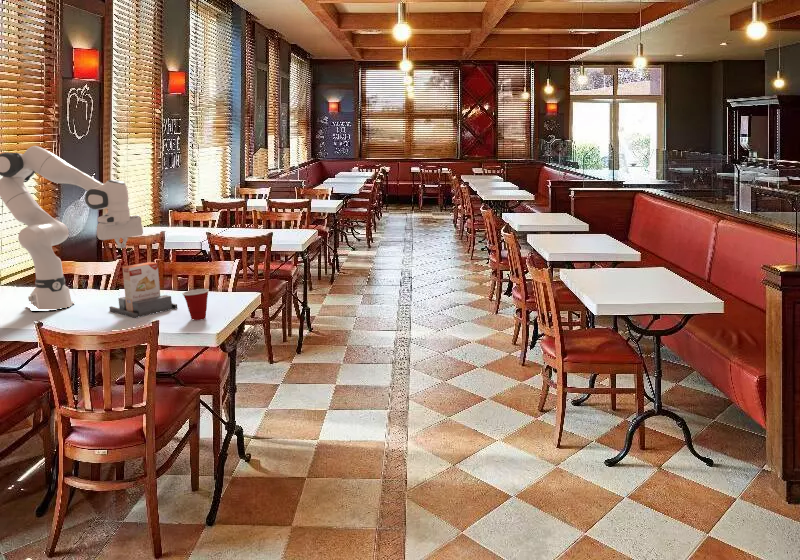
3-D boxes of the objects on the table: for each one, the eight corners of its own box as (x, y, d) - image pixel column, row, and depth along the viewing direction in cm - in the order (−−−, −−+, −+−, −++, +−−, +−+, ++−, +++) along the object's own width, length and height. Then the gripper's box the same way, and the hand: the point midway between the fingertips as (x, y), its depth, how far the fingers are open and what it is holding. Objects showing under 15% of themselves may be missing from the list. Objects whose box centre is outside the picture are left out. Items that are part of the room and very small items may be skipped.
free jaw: (119, 311, 318) (118, 298, 316) (152, 304, 330) (151, 291, 328) (125, 313, 314) (124, 299, 313) (158, 305, 326) (157, 292, 325)
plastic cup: (193, 314, 308) (191, 287, 306) (216, 315, 305) (213, 288, 303) (179, 321, 298) (176, 293, 296) (202, 322, 295) (199, 294, 293)
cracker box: (134, 315, 311) (128, 267, 306) (126, 313, 314) (121, 266, 310) (162, 308, 321) (158, 262, 317) (154, 306, 325) (150, 261, 321)
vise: (109, 311, 319) (108, 298, 318) (150, 302, 334) (149, 289, 333) (136, 318, 305) (134, 304, 304) (177, 308, 320) (176, 295, 319)
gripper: (137, 214, 330) (139, 244, 332) (93, 218, 314) (96, 249, 317) (144, 215, 326) (146, 245, 328) (101, 219, 310) (103, 251, 313)
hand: (121, 247), depth 323 cm, fingers closed
